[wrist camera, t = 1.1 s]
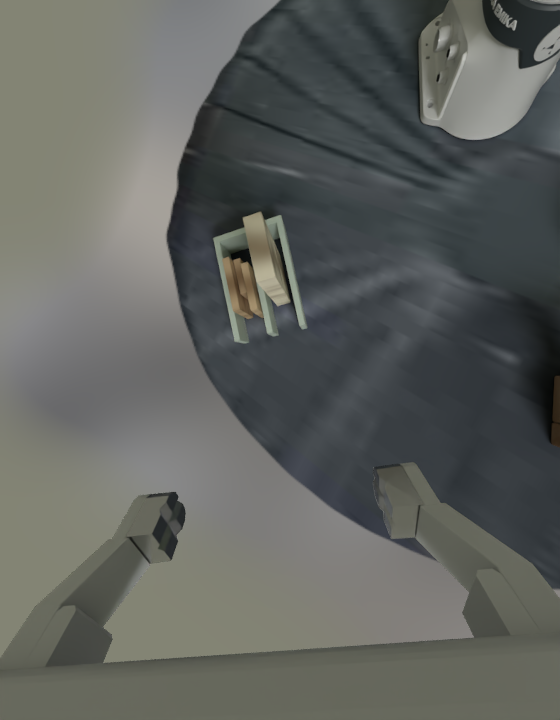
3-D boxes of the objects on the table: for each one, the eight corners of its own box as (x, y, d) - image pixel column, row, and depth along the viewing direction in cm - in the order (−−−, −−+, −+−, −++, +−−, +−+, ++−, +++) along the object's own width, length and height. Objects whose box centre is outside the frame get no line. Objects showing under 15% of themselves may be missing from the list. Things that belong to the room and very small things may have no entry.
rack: (224, 250, 47) (213, 237, 42) (285, 230, 45) (280, 214, 40) (244, 343, 46) (234, 341, 42) (307, 328, 44) (305, 324, 39)
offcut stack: (238, 274, 47) (222, 258, 39) (257, 269, 46) (244, 251, 39) (248, 321, 46) (233, 314, 39) (267, 316, 46) (256, 308, 38)
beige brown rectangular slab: (267, 260, 46) (242, 217, 32) (280, 256, 45) (260, 211, 31) (277, 305, 45) (256, 282, 32) (290, 302, 45) (275, 276, 31)
